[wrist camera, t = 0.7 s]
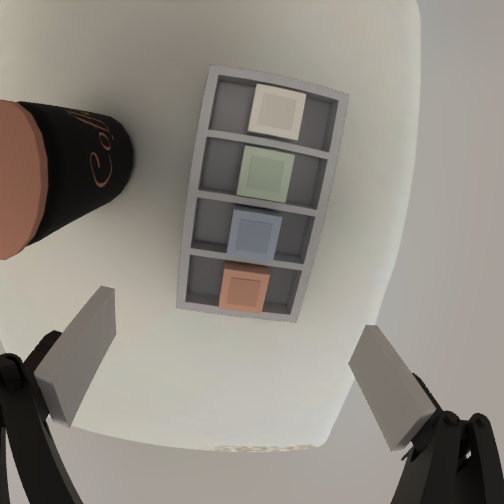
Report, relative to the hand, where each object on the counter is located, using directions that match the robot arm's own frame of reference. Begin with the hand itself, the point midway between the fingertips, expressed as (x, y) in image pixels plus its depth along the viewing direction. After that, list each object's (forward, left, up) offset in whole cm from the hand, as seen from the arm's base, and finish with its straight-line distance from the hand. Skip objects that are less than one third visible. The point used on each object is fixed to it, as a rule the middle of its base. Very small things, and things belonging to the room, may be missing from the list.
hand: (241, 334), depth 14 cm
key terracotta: (+5, +2, -17) cm, 18 cm away
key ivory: (-13, +2, -17) cm, 21 cm away
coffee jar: (-6, -17, -20) cm, 27 cm away
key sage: (-7, +2, -17) cm, 19 cm away
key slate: (-1, +2, -17) cm, 17 cm away
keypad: (-4, +2, -20) cm, 20 cm away
